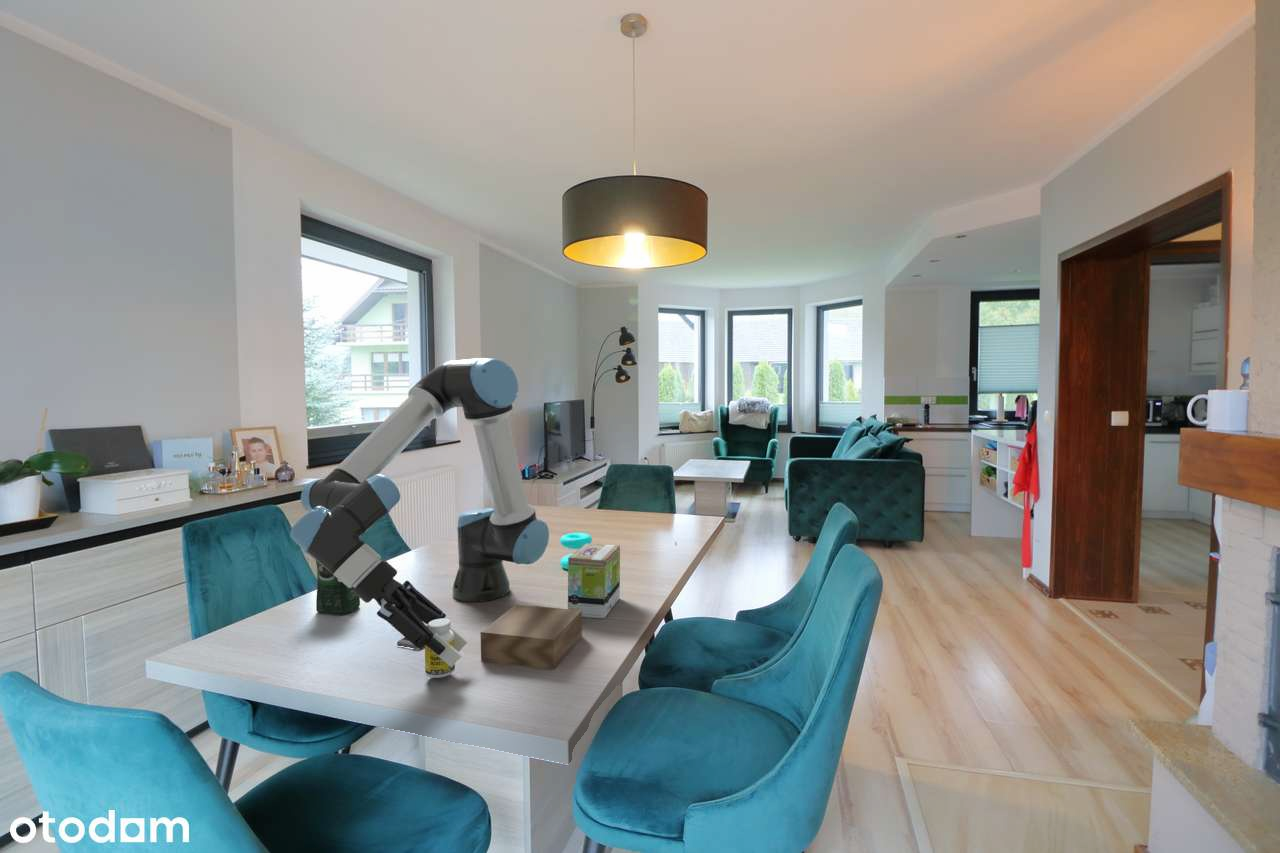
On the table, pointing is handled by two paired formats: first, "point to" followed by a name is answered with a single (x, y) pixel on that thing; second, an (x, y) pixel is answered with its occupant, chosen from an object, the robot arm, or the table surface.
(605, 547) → the tea box
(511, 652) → the walnut block
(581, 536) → the donuts
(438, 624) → the supplement bottle
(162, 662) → the table surface
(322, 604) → the coffee jar
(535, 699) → the table surface
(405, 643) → the cell phone
